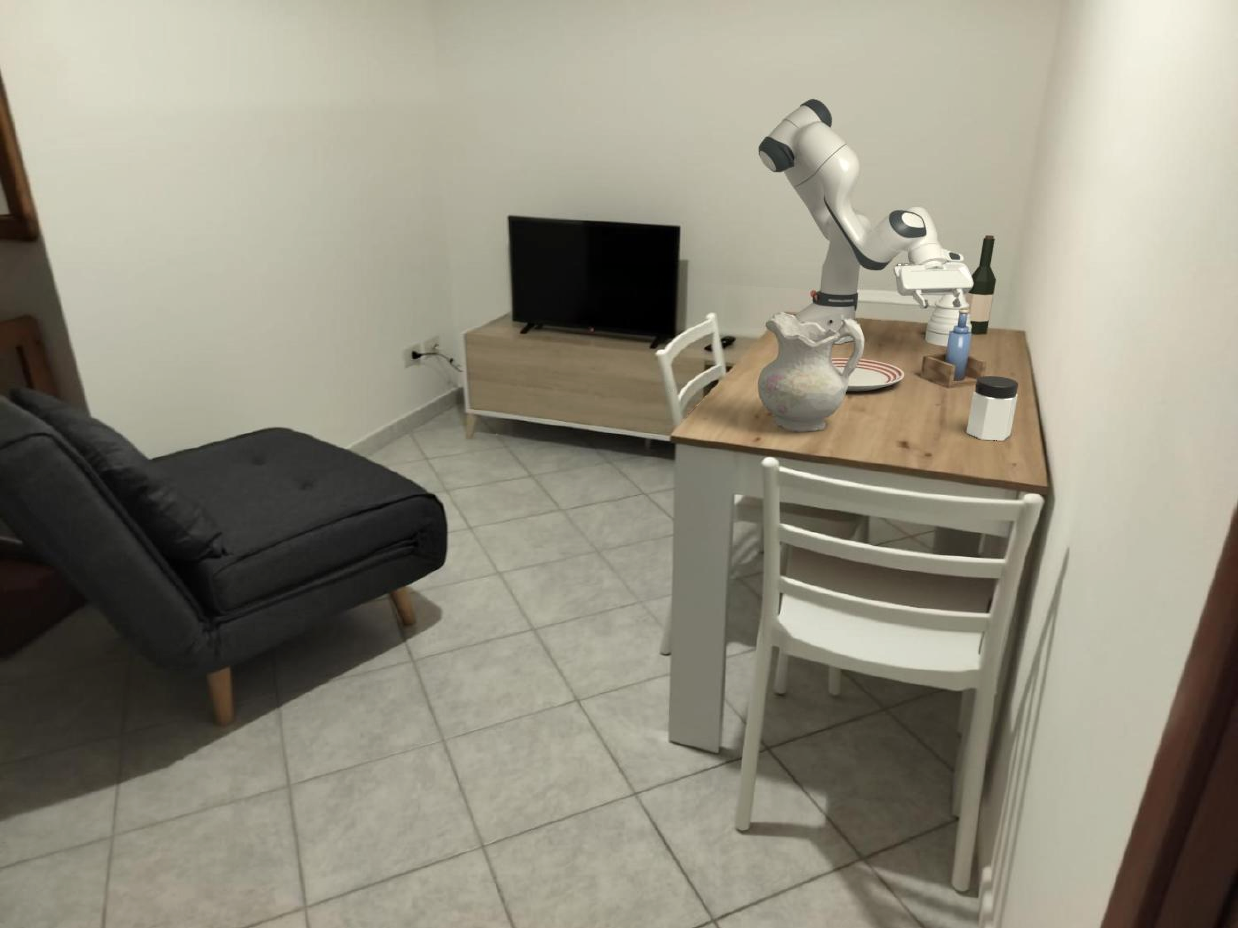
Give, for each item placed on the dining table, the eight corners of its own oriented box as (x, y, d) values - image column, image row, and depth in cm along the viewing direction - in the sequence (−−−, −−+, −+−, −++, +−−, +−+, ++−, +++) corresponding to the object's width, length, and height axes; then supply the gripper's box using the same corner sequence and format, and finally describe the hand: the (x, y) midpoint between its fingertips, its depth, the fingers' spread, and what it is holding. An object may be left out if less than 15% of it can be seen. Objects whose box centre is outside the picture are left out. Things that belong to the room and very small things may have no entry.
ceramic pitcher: (852, 419, 193) (863, 311, 185) (855, 442, 175) (868, 323, 167) (758, 412, 197) (765, 307, 190) (752, 434, 179) (759, 318, 172)
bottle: (942, 379, 215) (952, 310, 209) (943, 374, 220) (953, 306, 213) (964, 381, 214) (975, 312, 207) (964, 376, 218) (975, 308, 211)
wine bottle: (983, 328, 272) (999, 234, 260) (991, 334, 264) (1008, 237, 252) (956, 328, 272) (971, 234, 261) (964, 334, 265) (979, 237, 253)
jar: (975, 425, 186) (984, 373, 181) (1013, 433, 181) (1024, 380, 176) (961, 435, 180) (970, 382, 175) (1000, 444, 175) (1010, 389, 170)
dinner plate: (774, 382, 217) (775, 370, 216) (827, 362, 235) (828, 350, 234) (871, 405, 200) (873, 392, 198) (920, 381, 218) (922, 368, 217)
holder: (982, 383, 215) (986, 361, 213) (948, 388, 211) (951, 366, 209) (953, 372, 224) (957, 352, 222) (920, 377, 220) (923, 356, 218)
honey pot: (916, 339, 258) (924, 281, 251) (942, 334, 265) (951, 277, 258) (951, 348, 248) (960, 288, 241) (978, 342, 255) (988, 283, 248)
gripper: (897, 256, 218) (910, 301, 213) (968, 254, 221) (983, 298, 216) (886, 270, 223) (899, 314, 218) (956, 269, 227) (970, 312, 222)
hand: (941, 306), depth 217 cm, fingers open, 8 cm apart
